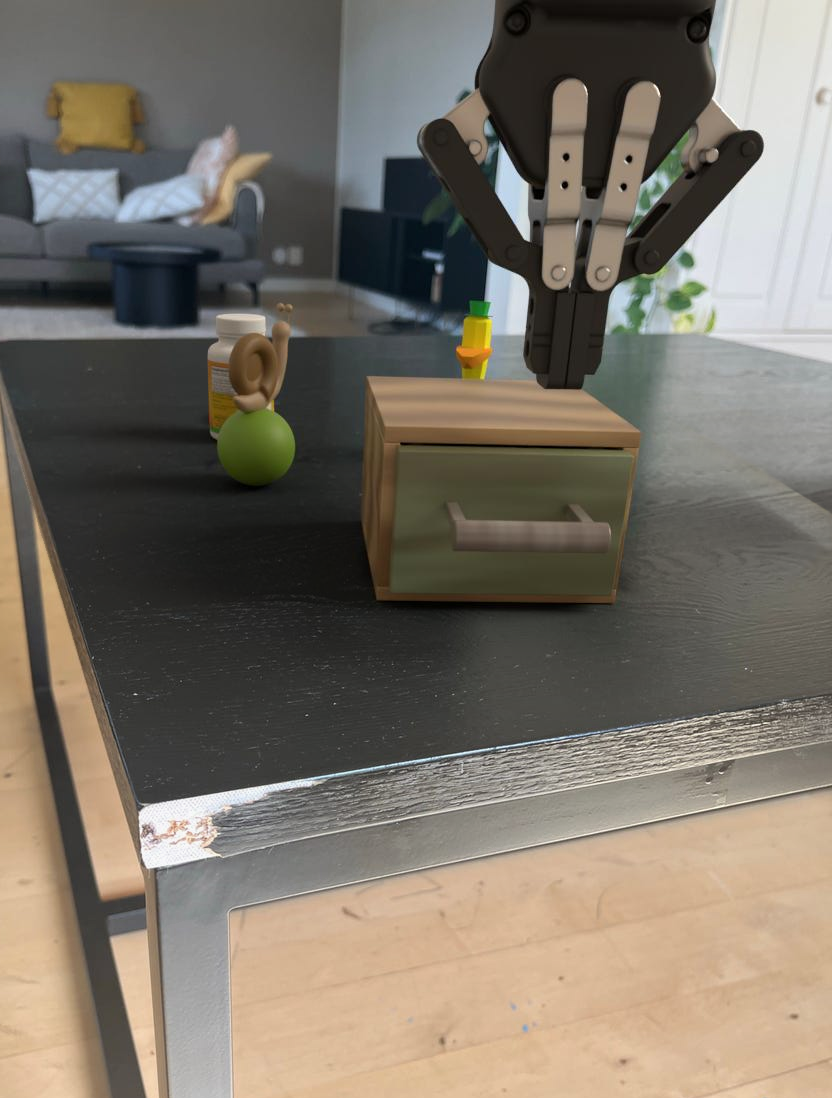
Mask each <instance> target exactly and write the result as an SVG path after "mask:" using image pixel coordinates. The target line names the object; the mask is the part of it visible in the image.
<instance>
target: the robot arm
mask: <svg viewBox="0 0 832 1098" xmlns="http://www.w3.org/2000/svg"><path fill="white" fill-rule="evenodd" d="M716 5H717V0H494V11H493V24H492V31H491V37H490V40H489V43H488V46H487V49H486V50H485V52H484V55H483V56H482V58H481V60H480V61H479V64H478V65H477V68H476V71H475V75H474V90H473V91H472V92H471V93H469V94H468V95H467V96H466V97H465V98H463V99H462V100H461V101H459V102H458V103H457V104H456V105H455V106H453V107H452V108H451V109H450V110H449V111H448V112H446V113H445V114H444V115H442V116H441V117H440V118H436V119H433V120H432V121H429V122H427V123H424V124H423V125H422V126H421V127H420V129H419V130H418V132H417V136H416V144H417V148H418V150H419V152H420V153H421V155H422V156H423V159H424V160H425V161H426V163H427V165H428V166H429V167H430V169H431V170H432V172H433V174H434V176H435V177H436V179H437V180H438V182H439V184H440V185H441V187H442V188H443V190H444V191H445V194H446V195H447V196H448V198H449V199H450V201H451V202H452V204H453V206H454V208H455V209H456V210H457V212H458V214H459V215H460V216H461V218H462V220H463V222H464V223H465V225H466V226H467V228H468V229H469V231H470V232H471V234H472V236H473V238H474V239H475V240H476V242H477V243H478V246H479V247H480V248H481V250H482V252H483V253H484V255H485V257H486V258H487V259H488V261H489V262H490V263H491V264H493V265H495V266H497V267H500V268H502V269H504V270H506V271H509V272H511V273H513V274H515V275H518V276H519V277H521V278H522V279H523V280H524V281H525V282H526V284H527V287H528V301H527V310H526V322H525V332H524V341H523V351H522V352H523V353H522V356H523V360H524V364H525V366H526V369H527V370H529V372H531V373H532V374H534V375H535V378H536V380H535V381H537V383H538V384H539V385H540V386H541V387H543V388H544V389H569V390H581V389H582V388H583V387H584V383H585V376H595V375H596V373H597V371H598V369H599V367H600V365H601V364H602V357H603V350H604V344H605V343H604V342H605V334H606V329H607V319H608V312H609V306H610V305H609V304H610V298H611V295H612V293H613V291H614V289H615V288H616V287H617V286H618V285H619V284H621V283H622V282H624V281H626V280H629V279H632V278H637V277H639V276H641V275H649V276H651V275H655V274H657V273H659V272H660V271H661V270H662V269H663V268H664V267H665V266H666V265H667V264H668V263H669V261H670V260H671V259H672V258H673V257H674V256H675V255H676V253H677V252H678V251H679V250H680V249H681V248H682V247H683V246H684V244H686V242H687V241H688V240H689V239H690V238H691V237H692V235H694V233H695V232H696V231H697V230H698V229H699V228H700V227H701V225H702V224H703V223H704V222H705V221H706V220H707V218H708V217H709V216H710V215H712V213H713V212H714V211H715V209H717V207H718V206H719V205H720V204H721V203H722V202H723V201H724V200H725V198H726V197H727V196H728V195H729V194H730V193H731V192H732V191H733V189H734V188H735V187H736V186H737V185H738V184H739V182H741V181H742V179H743V178H744V177H745V176H746V175H747V174H748V173H749V172H750V170H751V169H752V168H753V167H754V166H755V165H756V163H758V161H759V160H760V159H761V157H762V155H763V153H764V150H765V143H764V139H763V137H762V135H761V134H760V133H759V132H758V131H756V130H753V129H742V128H741V127H740V126H739V125H738V123H736V121H734V120H733V118H732V117H731V116H730V115H729V114H728V113H727V112H726V111H725V109H724V108H722V106H721V105H720V104H719V103H718V102H717V101H716V99H714V95H715V91H716V86H717V72H716V68H715V66H714V63H713V59H712V55H711V48H710V35H711V34H710V33H711V28H712V24H713V18H714V14H715V10H716ZM487 120H488V121H489V123H490V126H491V127H492V129H493V131H494V133H495V134H496V137H497V138H498V140H499V142H500V144H501V146H502V147H503V149H504V151H505V153H506V155H507V156H508V158H509V160H510V162H511V164H512V166H513V167H514V169H515V171H516V173H517V174H518V176H520V178H521V179H522V180H523V181H524V182H526V183H527V184H528V186H527V187H528V188H527V190H528V191H527V216H528V217H527V218H528V221H529V240H527V239H525V238H524V237H523V234H522V233H521V232H520V230H519V228H518V227H517V225H516V224H515V222H514V220H513V219H512V217H511V215H510V214H509V212H508V210H507V209H506V207H505V206H504V204H503V203H502V201H501V199H500V197H499V195H498V193H497V192H496V190H495V189H494V188H493V186H492V184H491V182H490V181H489V179H488V178H487V176H486V175H485V173H484V171H483V169H482V168H481V166H480V165H481V164H482V163H483V162H484V161H485V160H486V158H487V155H488V153H489V142H488V139H487V137H486V134H485V125H486V121H487ZM687 132H689V133H688V139H687V141H686V143H685V145H684V147H683V148H682V149H681V152H680V156H679V161H680V167H681V168H682V170H683V171H682V172H681V173H680V174H679V176H678V177H676V179H675V180H674V181H673V182H672V184H671V185H670V186H669V187H668V188H667V189H666V190H665V192H664V193H663V194H662V195H661V197H660V198H659V199H658V200H657V201H656V202H655V203H654V204H653V206H652V207H650V209H649V210H648V211H647V212H646V214H645V215H644V216H643V217H642V218H641V220H640V221H639V222H638V223H637V224H636V225H635V227H633V229H632V230H630V232H629V233H628V230H629V227H630V226H631V224H632V223H633V220H634V218H635V214H636V210H637V205H638V201H639V195H640V190H641V185H643V184H644V183H645V182H647V181H648V180H649V179H650V178H651V177H652V176H653V174H655V172H656V171H657V170H658V169H659V168H660V166H661V165H662V164H663V162H664V161H665V160H666V159H667V157H668V156H669V155H670V154H671V152H672V151H673V150H674V149H675V147H676V146H677V145H678V144H679V142H680V141H681V140H682V139H683V138H684V136H685V135H686V134H687ZM577 224H578V226H577ZM577 227H578V228H577ZM627 233H628V235H627ZM582 390H583V389H582Z"/></svg>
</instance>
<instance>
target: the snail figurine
mask: <svg viewBox="0 0 832 1098" xmlns="http://www.w3.org/2000/svg"><path fill="white" fill-rule="evenodd" d="M276 310H277V311H278V312H279V313H280V315H279V320H278V321H276V322H275V323H274V324H273V325H272V327H271V337H272V341H270V339H269V337H267V336H266V335H265V336H264V335H261V334H258V333H249V334H246V335H244V336H243V337H241V338H240V339H239V340H238V341H237V342H236V344H235V345H234V347H233V349H232V352H231V354H230V358H229V364H228V374H229V380H230V383H231V386H232V388H233V389H234V391H235V392H236V393H237V394H238V395H239V396H234V397H233V402H234V404H235V406H236V407H237V408H238V409H239V411H237V412H235V413H234V414H232V415H231V416H230V417H229V418H228V419H227V420H226V421H225V423H224V424H223V426H222V428H221V430H220V432H219V435H218V440H216V450H217V456H218V459H219V462H220V464H221V466H222V468H223V469H224V470H225V471H226V473H227V474H228V475H229V477H231V478H233V479H234V480H235V481H237V482H239V483H241V484H243V485H246V486H253V487H262V486H266V485H270V484H272V483H275V482H276V481H279V480H280V479H281V478H282V477H284V475H285V474H286V473H287V472H288V470H289V469H290V467H291V466H292V463H293V461H294V458H295V452H296V440H295V436H294V432H293V430H292V429H291V427H290V425H289V424H288V422H287V421H286V419H284V418H283V417H282V416H281V415H280V414H279V413H277V412H275V410H274V411H272V410H270V409H267V408H266V407H267V406H268V405H269V404H270V403H271V402H272V401H273V400H274V401H275V399H276V398H277V396H278V395H279V393H280V391H281V388H282V385H283V382H284V379H285V378H284V377H285V374H286V368H287V362H288V352H289V351H288V350H289V346H288V345H289V340H290V338H291V327H290V315H291V314H290V313H291V312H292V311H293V306H292V304H290V303H287V304H283V302H279V303H277V305H276ZM284 311H285V312H286V313H287V314H288V315H287V322H286V321H284V320H282V316H283V315H282V312H284Z"/></svg>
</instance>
